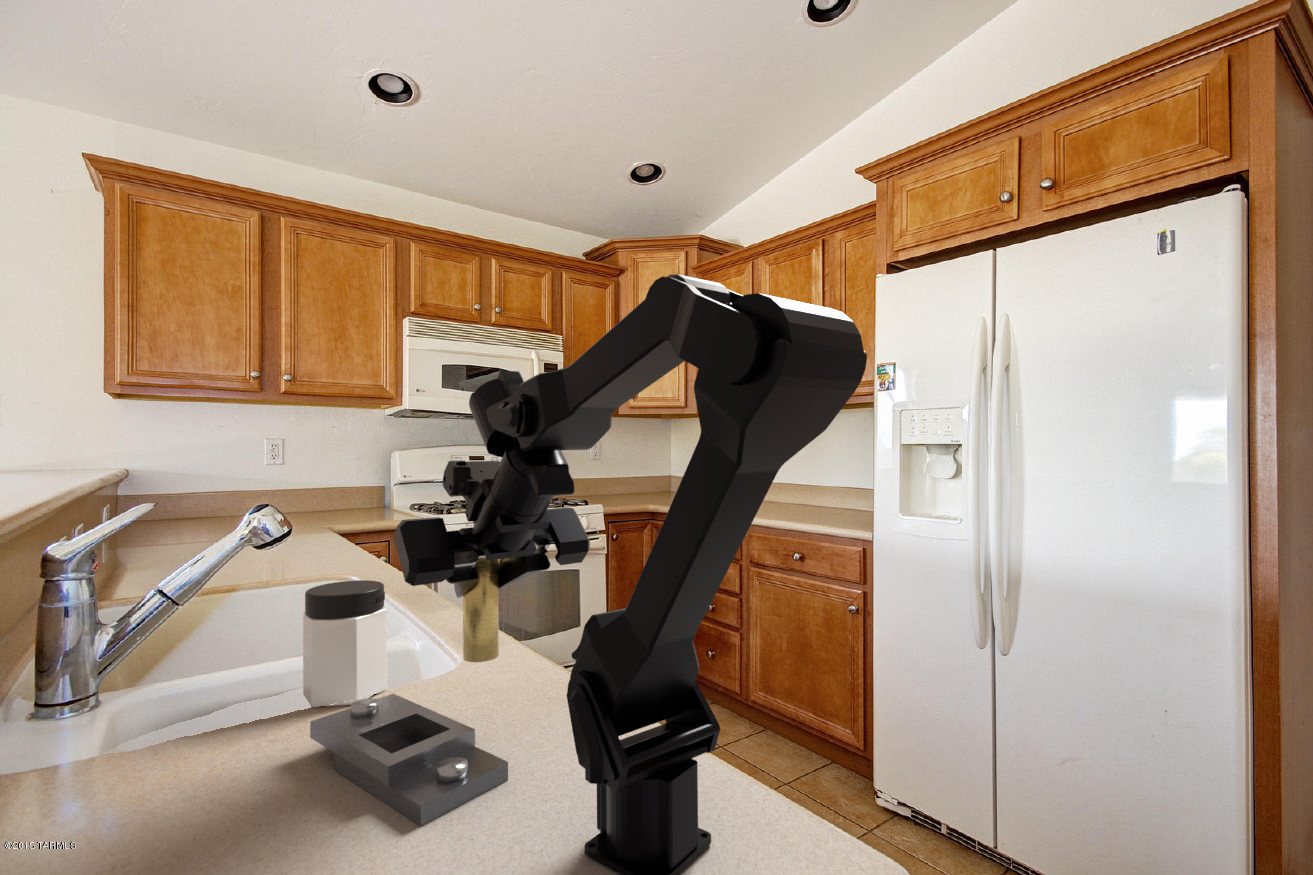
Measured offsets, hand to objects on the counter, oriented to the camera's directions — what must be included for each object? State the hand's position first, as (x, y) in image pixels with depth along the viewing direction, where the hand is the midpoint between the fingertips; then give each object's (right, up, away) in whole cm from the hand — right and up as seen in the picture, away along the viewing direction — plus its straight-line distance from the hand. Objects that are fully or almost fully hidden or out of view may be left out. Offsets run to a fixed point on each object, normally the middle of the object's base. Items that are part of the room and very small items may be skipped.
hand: (475, 590), depth 67 cm
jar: (-16, -13, +4) cm, 21 cm away
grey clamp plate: (-3, -12, -12) cm, 18 cm away
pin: (+1, -7, -1) cm, 7 cm away
